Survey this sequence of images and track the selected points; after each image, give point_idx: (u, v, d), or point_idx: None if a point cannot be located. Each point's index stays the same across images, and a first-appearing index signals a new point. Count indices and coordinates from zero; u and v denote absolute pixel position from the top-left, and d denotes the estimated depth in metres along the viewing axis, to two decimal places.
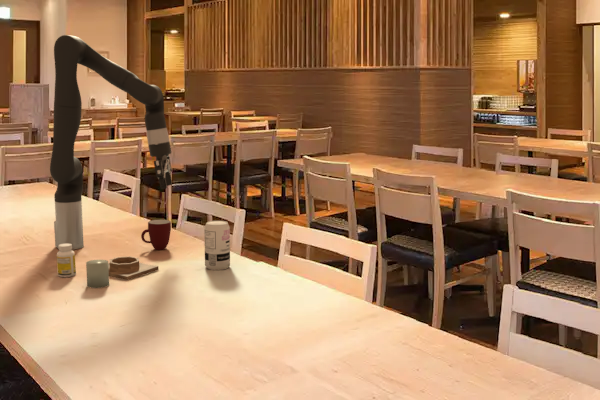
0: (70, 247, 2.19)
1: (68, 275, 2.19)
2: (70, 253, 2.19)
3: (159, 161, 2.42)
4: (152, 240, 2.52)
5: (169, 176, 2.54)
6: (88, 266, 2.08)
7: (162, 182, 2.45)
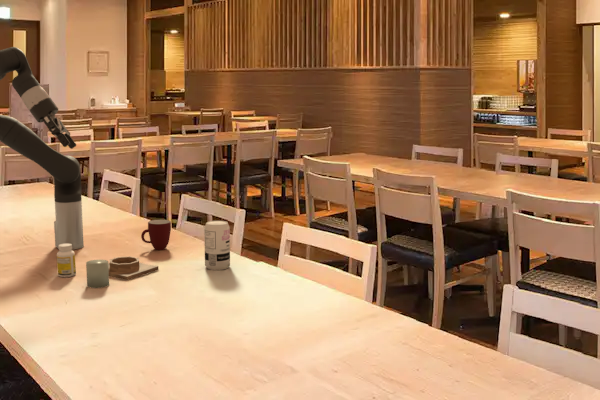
0: (70, 247, 2.19)
1: (68, 275, 2.19)
2: (70, 253, 2.19)
3: (47, 116, 2.13)
4: (152, 240, 2.52)
5: (69, 137, 2.24)
6: (88, 266, 2.08)
7: (62, 138, 2.15)
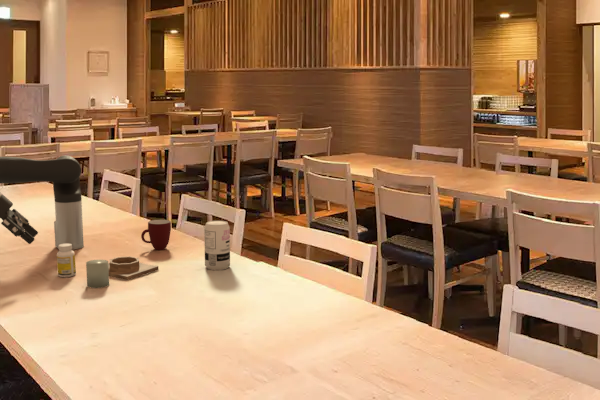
0: (70, 247, 2.19)
1: (68, 275, 2.19)
2: (70, 253, 2.19)
3: (6, 219, 2.07)
4: (152, 240, 2.52)
5: (29, 226, 2.19)
6: (88, 266, 2.08)
7: (26, 236, 2.11)
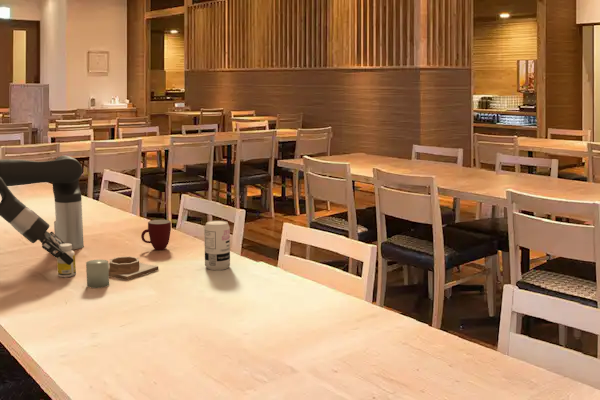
0: (70, 247, 2.19)
1: (68, 275, 2.19)
2: (70, 253, 2.19)
3: (47, 243, 2.12)
4: (152, 240, 2.52)
5: None
6: (88, 266, 2.08)
7: (65, 258, 2.17)
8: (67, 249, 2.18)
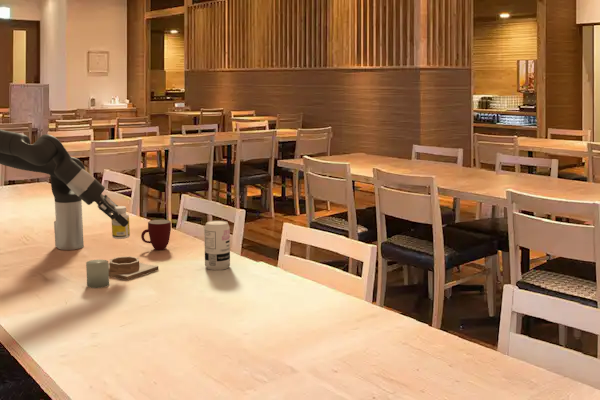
0: (125, 209, 2.22)
1: (123, 237, 2.22)
2: (125, 215, 2.21)
3: (104, 204, 2.14)
4: (152, 240, 2.52)
5: None
6: (88, 266, 2.08)
7: (121, 219, 2.19)
8: (122, 211, 2.21)
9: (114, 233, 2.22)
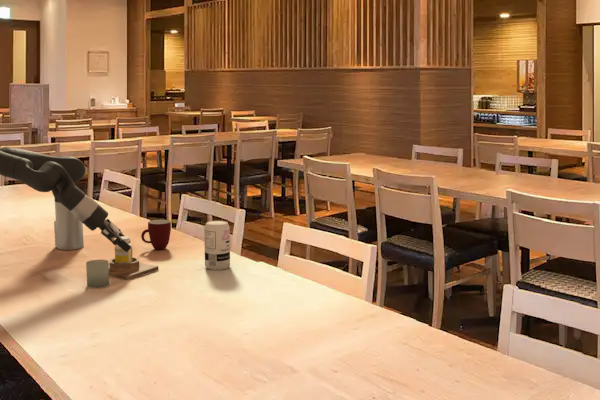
0: (128, 240, 2.24)
1: None
2: None
3: (106, 229, 2.16)
4: (152, 240, 2.52)
5: None
6: (88, 266, 2.08)
7: (123, 245, 2.20)
8: None
9: None
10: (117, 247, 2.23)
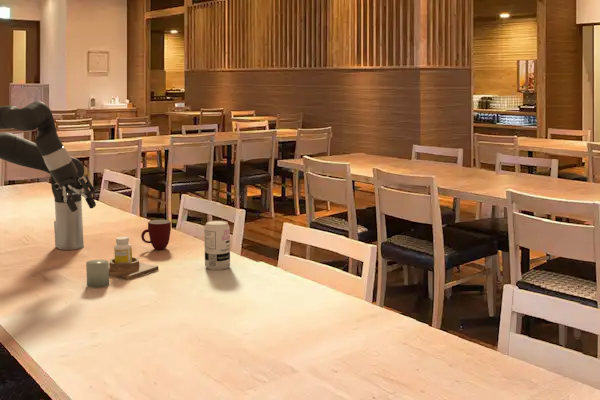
0: (127, 240, 2.24)
1: None
2: (127, 246, 2.23)
3: (85, 177, 2.17)
4: (152, 240, 2.52)
5: (72, 200, 2.25)
6: (88, 266, 2.08)
7: (92, 199, 2.20)
8: (124, 242, 2.23)
9: None
10: (116, 248, 2.23)
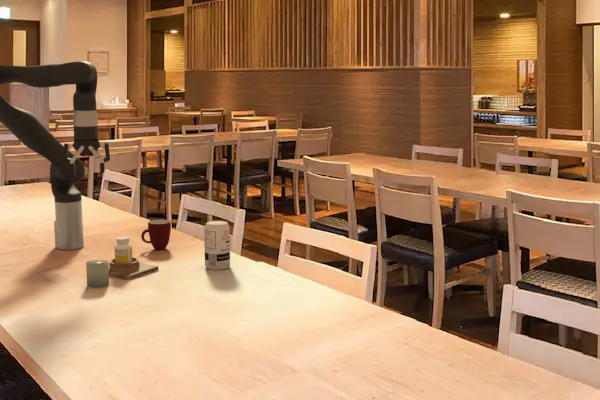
0: (128, 240, 2.24)
1: None
2: (128, 246, 2.23)
3: None
4: (152, 240, 2.52)
5: (74, 164, 2.28)
6: (88, 266, 2.08)
7: None
8: (125, 242, 2.23)
9: None
10: (116, 247, 2.23)
